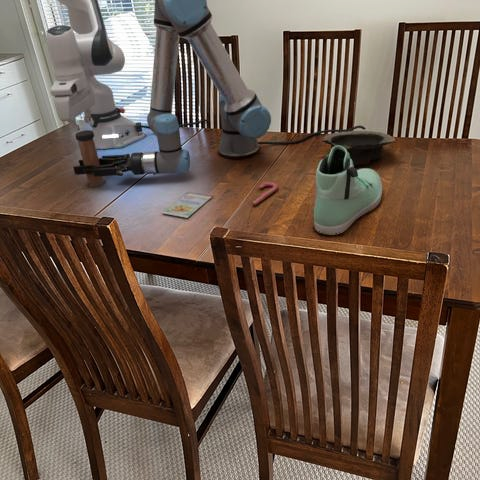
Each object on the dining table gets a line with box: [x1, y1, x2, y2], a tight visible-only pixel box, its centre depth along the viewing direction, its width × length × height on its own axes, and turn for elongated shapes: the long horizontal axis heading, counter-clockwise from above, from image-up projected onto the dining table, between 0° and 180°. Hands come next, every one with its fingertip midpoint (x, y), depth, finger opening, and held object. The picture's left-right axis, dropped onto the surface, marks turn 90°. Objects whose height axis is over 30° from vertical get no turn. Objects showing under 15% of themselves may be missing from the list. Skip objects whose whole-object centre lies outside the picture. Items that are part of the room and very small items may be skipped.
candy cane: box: [252, 181, 279, 206], centre depth 150 cm, size 6×15×2 cm, turn 145°
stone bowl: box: [321, 130, 396, 167], centre depth 169 cm, size 25×25×9 cm
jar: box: [77, 138, 105, 188], centre depth 163 cm, size 5×5×18 cm
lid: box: [75, 129, 94, 142], centre depth 158 cm, size 6×6×2 cm
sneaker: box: [313, 146, 383, 236], centre depth 133 cm, size 14×35×20 cm, turn 152°
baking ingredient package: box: [162, 192, 212, 218], centre depth 147 cm, size 9×1×15 cm
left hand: (82, 126), depth 156 cm, fingers open, 8 cm apart
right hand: (77, 167), depth 164 cm, fingers closed on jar, 5 cm apart
